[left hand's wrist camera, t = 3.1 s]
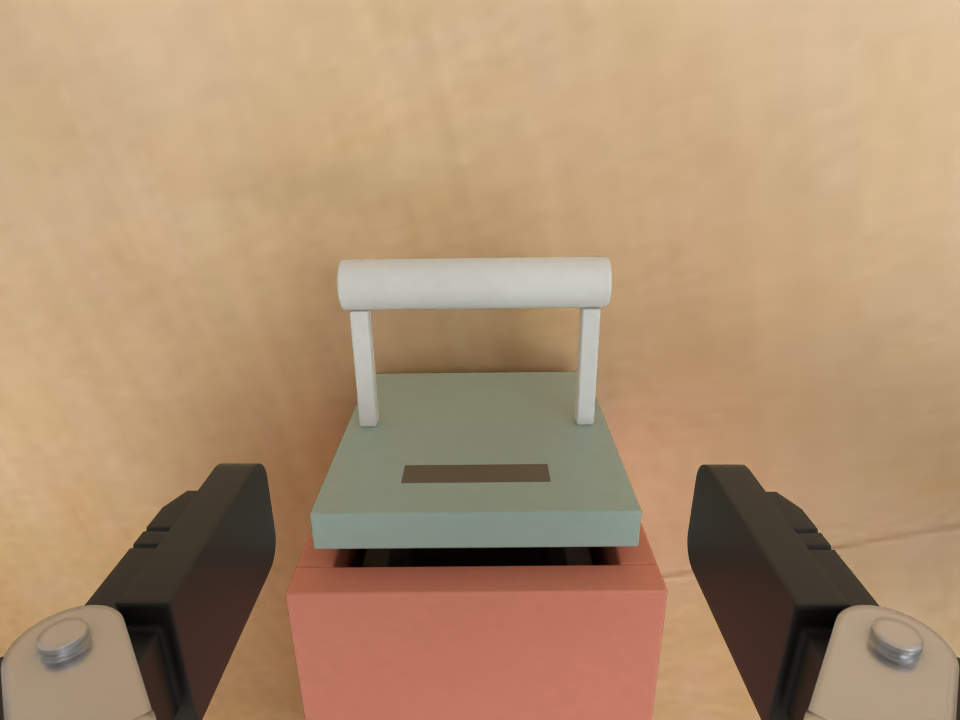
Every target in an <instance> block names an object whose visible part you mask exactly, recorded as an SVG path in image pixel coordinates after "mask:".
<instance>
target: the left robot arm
mask: <svg viewBox="0 0 960 720" xmlns="http://www.w3.org/2000/svg"><path fill="white" fill-rule="evenodd" d="M275 543H276V538H275V528H274V521H273V514H272V508H271V501H270V494H269V487H268V480H267V474H266V470H265V468H264V466H263V465H262V464H219V465H217V466H216V467H215V468H214V470H213V471H212V473H211V474H210V475H209V477H208V478H207V479H206V481H205V482H204V483H203V485H202V486H201V487H200V489H199V490H198V491H187V492H185V493H184V494H182V495H181V496H179V497H178V498H176V499H175V500H173V501H172V502H170V503H169V504H167V505H166V506H164V507H163V508H162V509H161V510H160V512H159V513H158V514H157V515H156V517H155V518H154V519H153V520H152V522H151V523H150V524H149V525H148V527H147V531H146V532H143V533H142V534H141V535H140V537H139V538H138V539H137V540H136V542H135V543H134V547H133V548H130V549H129V550H128V552H127V553H126V554H125V556H124V557H123V558H122V559H121V561H120V562H119V563H118V564H117V566H116V567H115V568H114V569H113V571H112V572H111V573H110V574H109V576H108V577H107V578H106V579H105V581H104V582H103V583H102V584H101V586H100V587H99V588H98V589H97V591H96V592H95V593H94V594H93V596H92V597H91V598H90V599H89V601H88V602H87V603H86V604H85V606H80V607H75V608H71V609H68V610H65V611H62V612H59V613H57V614H54V615H52V616H50V617H48V618H46V619H44V620H42V621H40V622H39V623H37V624H36V625H34V626H32V627H31V628H29V629H28V630H27V631H26V632H24V633H23V634H22V635H21V636H20V637H19V638H18V639H17V640H16V641H14V643H13V644H12V645H11V646H10V648H9V649H8V650H7V652H6V654H5V655H4V657H0V720H202V719H203V717H204V714H205V712H206V710H207V708H208V706H209V703H210V701H211V699H212V697H213V695H214V692H215V690H216V688H217V686H218V684H219V681H220V679H221V677H222V675H223V673H224V670H225V668H226V666H227V664H228V662H229V659H230V657H231V655H232V653H233V651H234V648H235V646H236V644H237V642H238V640H239V637H240V635H241V633H242V631H243V629H244V626H245V624H246V622H247V620H248V618H249V615H250V613H251V611H252V609H253V607H254V604H255V602H256V600H257V598H258V596H259V594H260V591H261V589H262V587H263V585H264V583H265V580H266V578H267V576H268V574H269V572H270V569H271V567H272V563H273V559H274V554H275ZM688 555H689V560H690V564H691V567H692V570H693V572H694V575H695V577H696V579H697V581H698V583H699V585H700V588H701V590H702V592H703V594H704V596H705V598H706V601H707V603H708V605H709V607H710V609H711V612H712V614H713V616H714V618H715V620H716V622H717V625H718V627H719V629H720V631H721V633H722V635H723V638H724V640H725V642H726V644H727V646H728V648H729V651H730V653H731V655H732V657H733V659H734V661H735V664H736V666H737V668H738V670H739V672H740V674H741V677H742V679H743V681H744V683H745V685H746V687H747V690H748V692H749V694H750V696H751V698H752V701H753V703H754V705H755V707H756V709H757V711H758V714H759V716H760V718H761V720H960V658H957V657H956V655H955V654H954V652H953V650H952V649H951V648H950V646H949V645H948V644H947V643H946V641H944V640H943V639H942V638H941V637H940V636H939V635H938V634H937V633H936V632H934V631H933V630H932V629H931V628H929V627H928V626H926V625H924V624H923V623H921V622H920V621H918V620H916V619H914V618H912V617H910V616H908V615H906V614H903V613H901V612H898V611H895V610H892V609H889V608H885V607H880V606H879V605H878V604H877V603H876V601H875V600H874V599H873V598H872V596H871V595H870V594H869V593H868V591H867V590H866V589H865V588H864V586H863V585H862V584H861V583H860V581H859V580H858V579H857V578H856V576H855V575H854V574H853V573H852V571H851V570H850V569H849V568H848V566H847V565H846V564H845V563H844V561H843V560H842V559H841V558H840V556H839V555H838V554H837V553H836V551H835V550H831V545H830V544H829V543H828V542H827V540H826V539H825V538H824V537H823V535H822V534H821V533H818V531H817V528H816V527H815V525H814V524H813V523H812V522H811V520H810V519H809V518H808V517H807V515H806V514H805V513H804V512H803V510H802V509H801V508H799V507H798V506H796V505H795V504H793V503H792V502H790V501H789V500H787V499H786V498H784V497H783V496H781V495H780V494H778V493H777V492H765V490H764V489H763V488H762V486H761V485H760V483H759V482H758V481H757V479H756V478H755V477H754V475H753V474H752V473H751V471H750V470H749V469H748V468H747V467H746V466H745V465H702V466H700V468H699V470H698V472H697V477H696V483H695V490H694V496H693V503H692V510H691V517H690V523H689V530H688Z"/></svg>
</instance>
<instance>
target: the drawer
mask: <svg viewBox="0 0 960 720" xmlns="http://www.w3.org/2000/svg"><path fill="white" fill-rule="evenodd" d="M611 290H612V271H611V264H610V261H609V258H608V257H606V256H594V257H505V258H416V259H343V260H341V261H340V263H339V266H338V272H337V291H338V298H339V302H340V305H341V307H342V309H344V310H351V311H350V323H351V334H352V345H353V356H354V366H355V377H356V388H357V399H358V402H357V405H356V407H355V409H354V412H353V414H352V416H351V419H350V421H349V423H348V426H347V428H346V430H345V433H344V435H343V437H342V440H341V442H340V445H339V447H338V449H337V452H336V454H335V456H334V459H333V461H332V463H331V466H330V468H329V470H328V473H327V475H326V477H325V480H324V482H323V484H322V487H321V489H320V492H319V494H318V496H317V499H316V501H315V503H314V506H313V508H312V510H311V513H310V520H311V527H312V535H313V542H314V548H315V549H366V553H365V557H364V561H363V565H362V567H450V566H571V565H593V563H592V559H591V555H590V551H589V547H617V546H638V544H639V534H640V524H641V513H642V511H641V509H640V506H639V504H638V501H637V499H636V496H635V494H634V491H633V489H632V486H631V484H630V481H629V479H628V476H627V474H626V471H625V469H624V466H623V464H622V461H621V459H620V456H619V454H618V451H617V449H616V446H615V444H614V441H613V439H612V436H611V434H610V431H609V429H608V426H607V424H606V421H605V419H604V416H603V414H602V411H601V409H600V406H599V404H598V401H597V399H596V396H595V394H596V378H597V361H598V345H599V329H600V312H601V310H600V308H599V307H607V306H608V304H609V301H610V297H611ZM495 308H580V316H579V336H578V357H577V372H491V373H392V374H376V373H375V360H374V348H373V335H372V322H371V310H402V309H495Z"/></svg>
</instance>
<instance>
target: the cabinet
mask: <svg viewBox="0 0 960 720" xmlns="http://www.w3.org/2000/svg"><path fill="white" fill-rule="evenodd" d="M589 551H590V555H591V559H592V563H593V565H571V566H450V567H362V565H363V561H364V557H365V553H366V549H315V548H314V542H313V535H312V529H311V532H310V534H309V537H308V539H307V542H306V544H305V547H304V549H303V552H302V554H301V557H300V559H299V561H298V564H297V566H296V569H295V571H294V574H293V576H292V579H291V581H290V584H289V586H288V589H287V591H286V594H285V595H286V601H287V607H288V614H289V620H290V626H291V633H292V639H293V645H294V652H295V658H296V664H297V670H298V677H299V683H300V689H301V696H302V702H303V708H304V714H305V720H652V713H653V705H654V697H655V689H656V681H657V673H658V665H659V657H660V648H661V640H662V632H663V624H664V616H665V608H666V600H667V592H668V591H667V588H666V586H665V583H664V580H663V578H662V575H661V573H660V570H659V568H658V566H657V563H656V560H655V558H654V555H653V553H652V550H651V547H650V545H649V542H648V540H647V537H646V534H645V532H644V529H643V527H642V524H640V534H639V544H638V546H617V547H589Z"/></svg>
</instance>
